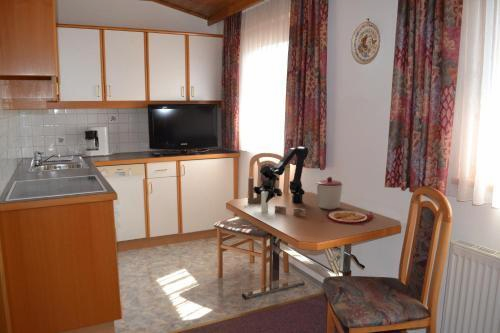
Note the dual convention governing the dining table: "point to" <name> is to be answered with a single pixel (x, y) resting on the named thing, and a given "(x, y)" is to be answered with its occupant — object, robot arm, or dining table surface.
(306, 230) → the dining table surface
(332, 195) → the canister
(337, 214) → the plate with food
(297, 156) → the robot arm
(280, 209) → the walnut slotted plate
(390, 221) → the dining table surface
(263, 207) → the sage plank
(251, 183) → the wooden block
